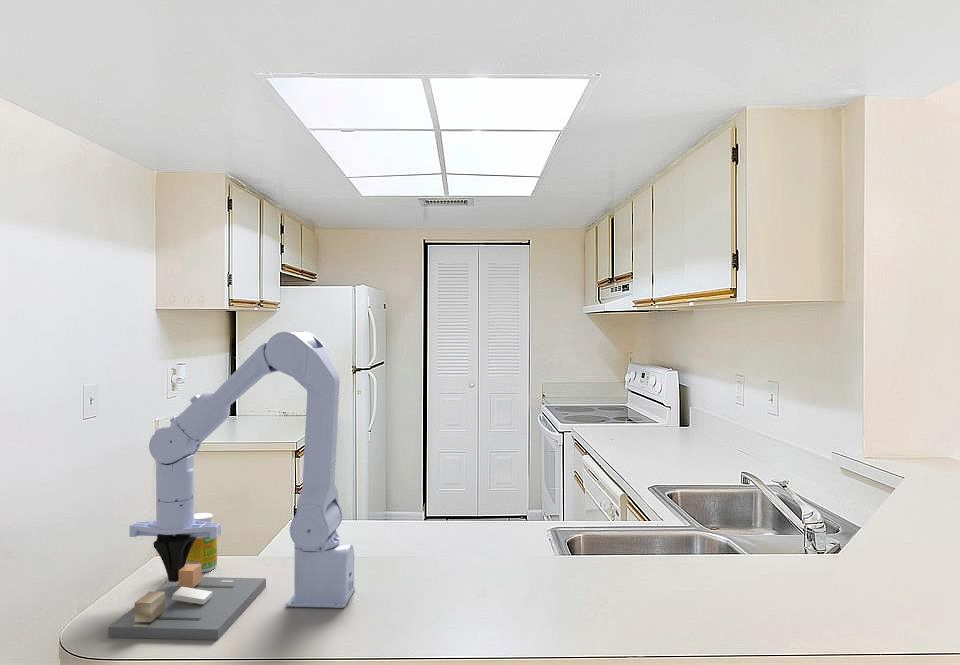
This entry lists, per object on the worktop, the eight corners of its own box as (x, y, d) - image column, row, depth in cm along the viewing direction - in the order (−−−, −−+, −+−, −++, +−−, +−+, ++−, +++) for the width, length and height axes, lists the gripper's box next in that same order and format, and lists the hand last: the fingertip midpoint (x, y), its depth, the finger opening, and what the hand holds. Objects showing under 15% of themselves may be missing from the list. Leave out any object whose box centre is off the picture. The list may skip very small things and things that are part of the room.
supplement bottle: (205, 574, 119) (205, 520, 119) (178, 572, 120) (178, 519, 120) (222, 564, 125) (222, 512, 124) (197, 562, 126) (197, 510, 125)
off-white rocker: (211, 596, 106) (212, 591, 106) (203, 604, 103) (204, 599, 103) (181, 591, 106) (182, 586, 106) (171, 599, 103) (172, 594, 103)
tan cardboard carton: (164, 610, 100) (164, 591, 100) (150, 622, 96) (150, 602, 96) (149, 609, 100) (149, 591, 100) (134, 621, 96) (134, 602, 96)
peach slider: (201, 580, 112) (201, 564, 112) (193, 587, 109) (193, 570, 109) (187, 580, 112) (187, 563, 112) (178, 587, 109) (178, 570, 109)
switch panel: (265, 587, 114) (265, 576, 114) (217, 639, 95) (217, 626, 95) (174, 585, 114) (174, 574, 114) (108, 637, 96) (108, 624, 95)
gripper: (228, 492, 114) (228, 571, 114) (145, 491, 114) (145, 569, 115) (210, 503, 107) (210, 587, 107) (121, 502, 107) (122, 585, 108)
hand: (175, 579), depth 110 cm, fingers closed
